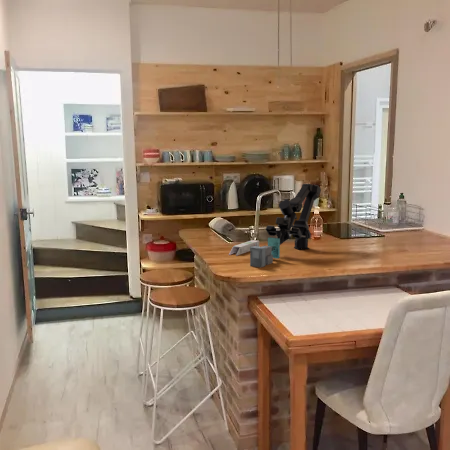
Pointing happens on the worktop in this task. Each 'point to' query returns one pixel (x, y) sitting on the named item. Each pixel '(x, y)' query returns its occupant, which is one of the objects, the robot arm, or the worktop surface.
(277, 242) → the teal green slab
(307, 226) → the robot arm
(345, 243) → the worktop surface
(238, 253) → the box
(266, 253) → the sleeve
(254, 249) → the socket
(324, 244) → the worktop surface
